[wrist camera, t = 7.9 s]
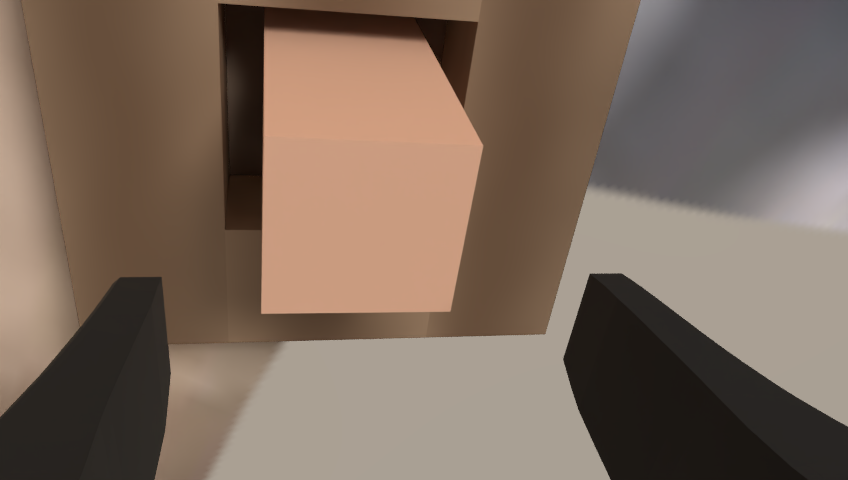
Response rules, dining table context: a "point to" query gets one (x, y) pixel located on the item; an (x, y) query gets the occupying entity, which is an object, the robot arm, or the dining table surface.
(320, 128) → the peg
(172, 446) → the dining table surface
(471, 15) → the slot block
